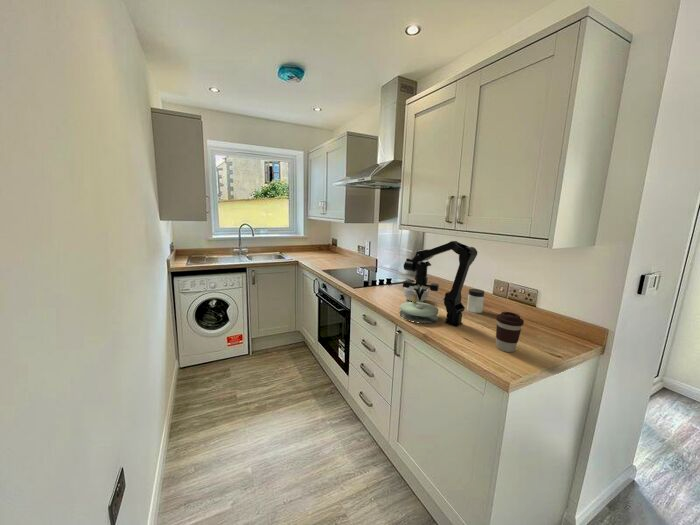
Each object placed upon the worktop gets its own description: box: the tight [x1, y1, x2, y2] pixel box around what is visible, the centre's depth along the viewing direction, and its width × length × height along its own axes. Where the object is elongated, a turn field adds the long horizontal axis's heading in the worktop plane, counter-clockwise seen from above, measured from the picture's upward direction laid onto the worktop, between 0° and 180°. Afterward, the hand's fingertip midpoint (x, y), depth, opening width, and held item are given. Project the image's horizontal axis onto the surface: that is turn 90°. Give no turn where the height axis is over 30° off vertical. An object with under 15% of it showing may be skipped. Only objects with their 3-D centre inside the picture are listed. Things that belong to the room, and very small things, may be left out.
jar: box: [466, 288, 485, 314], centre depth 168 cm, size 9×8×12 cm
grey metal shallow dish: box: [398, 309, 439, 324], centre depth 154 cm, size 20×20×4 cm
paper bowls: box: [403, 286, 430, 303], centre depth 183 cm, size 15×15×8 cm
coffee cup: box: [495, 311, 525, 353], centre depth 121 cm, size 10×10×15 cm
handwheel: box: [399, 294, 439, 317], centre depth 153 cm, size 20×20×6 cm
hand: (419, 300), depth 161 cm, fingers closed
